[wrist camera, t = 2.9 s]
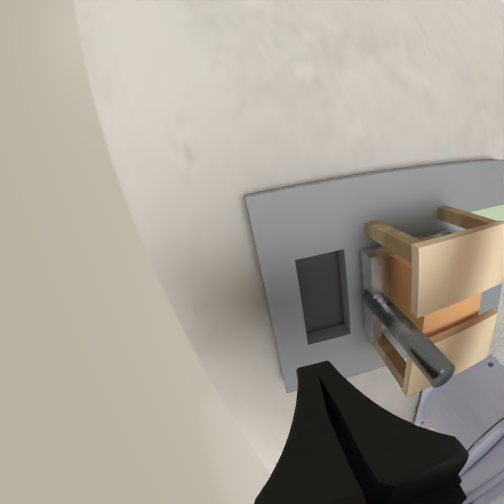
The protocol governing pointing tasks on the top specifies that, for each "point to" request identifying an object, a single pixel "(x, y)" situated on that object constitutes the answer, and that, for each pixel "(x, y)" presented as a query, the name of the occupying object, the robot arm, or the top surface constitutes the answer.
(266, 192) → the deck
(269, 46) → the top surface
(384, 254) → the sled
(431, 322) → the block
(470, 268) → the wooden stool
